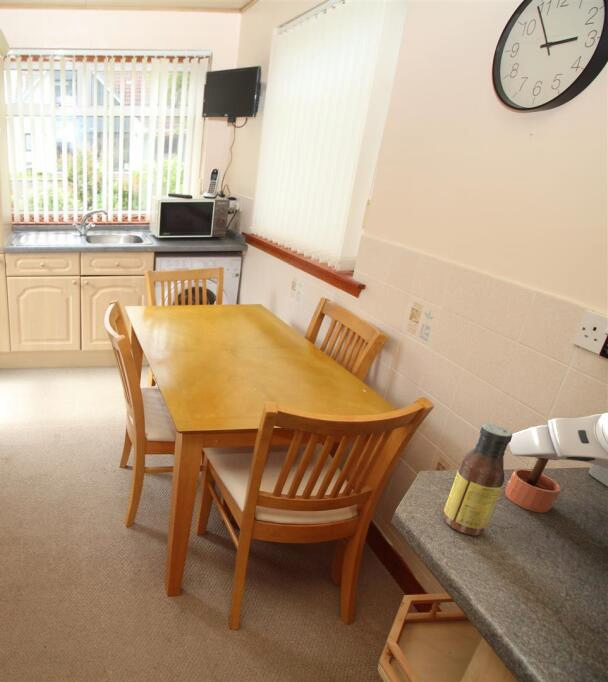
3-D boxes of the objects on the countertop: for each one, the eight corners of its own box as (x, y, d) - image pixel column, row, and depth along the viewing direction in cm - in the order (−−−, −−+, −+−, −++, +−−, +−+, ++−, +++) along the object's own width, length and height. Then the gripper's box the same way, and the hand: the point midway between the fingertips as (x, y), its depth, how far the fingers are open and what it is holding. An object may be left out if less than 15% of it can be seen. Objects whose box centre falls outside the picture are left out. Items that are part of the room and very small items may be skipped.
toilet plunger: (525, 487, 95) (558, 419, 89) (543, 500, 91) (578, 430, 85) (509, 488, 94) (541, 420, 88) (526, 500, 91) (561, 430, 85)
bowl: (525, 488, 96) (535, 467, 94) (560, 512, 90) (571, 491, 88) (494, 489, 96) (504, 468, 94) (527, 514, 89) (538, 492, 87)
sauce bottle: (490, 532, 84) (535, 438, 77) (468, 541, 82) (511, 445, 74) (453, 508, 90) (491, 417, 82) (431, 515, 88) (468, 423, 80)
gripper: (673, 426, 78) (593, 442, 91) (544, 417, 79) (483, 434, 92) (688, 465, 76) (604, 476, 88) (555, 455, 77) (491, 467, 89)
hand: (541, 454), depth 90 cm, fingers closed on toilet plunger
